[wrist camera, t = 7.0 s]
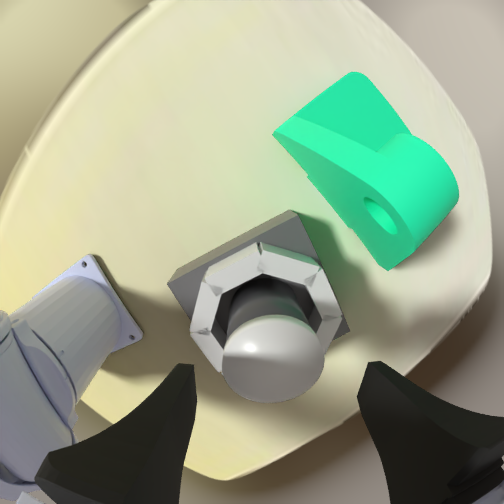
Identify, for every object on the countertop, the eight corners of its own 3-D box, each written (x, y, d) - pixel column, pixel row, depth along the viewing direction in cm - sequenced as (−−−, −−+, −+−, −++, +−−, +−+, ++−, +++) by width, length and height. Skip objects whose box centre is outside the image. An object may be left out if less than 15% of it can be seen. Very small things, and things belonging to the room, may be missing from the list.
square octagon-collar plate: (237, 360, 22) (236, 401, 17) (177, 269, 20) (158, 296, 15) (337, 312, 21) (360, 346, 16) (289, 209, 19) (305, 219, 14)
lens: (296, 341, 18) (315, 401, 12) (227, 340, 18) (222, 402, 12) (304, 277, 17) (332, 322, 11) (228, 274, 17) (221, 321, 11)
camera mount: (432, 199, 19) (527, 218, 9) (372, 260, 20) (455, 319, 10) (344, 78, 17) (417, 16, 7) (270, 137, 18) (301, 90, 8)
